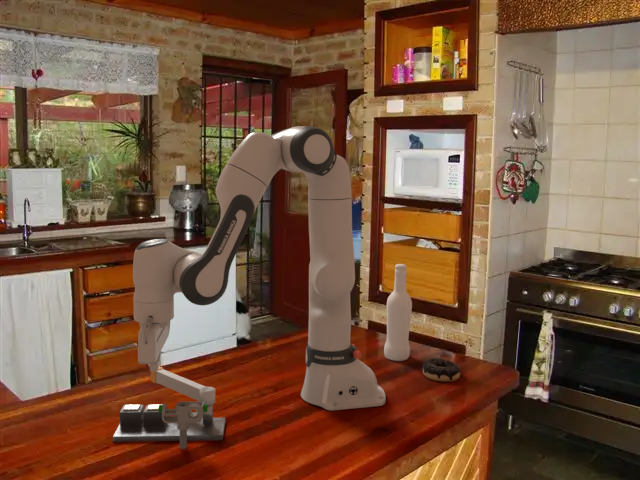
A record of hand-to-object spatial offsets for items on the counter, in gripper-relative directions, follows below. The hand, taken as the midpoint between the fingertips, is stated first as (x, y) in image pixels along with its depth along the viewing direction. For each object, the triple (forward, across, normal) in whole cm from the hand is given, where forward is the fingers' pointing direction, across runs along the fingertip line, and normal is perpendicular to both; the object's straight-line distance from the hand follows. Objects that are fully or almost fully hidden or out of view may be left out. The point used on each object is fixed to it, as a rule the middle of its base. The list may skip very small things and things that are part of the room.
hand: (154, 369), depth 143 cm
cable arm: (+8, +7, -5) cm, 12 cm away
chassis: (+14, -2, -4) cm, 15 cm away
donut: (+15, +32, -77) cm, 85 cm away
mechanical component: (+14, -10, -8) cm, 19 cm away
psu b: (+13, 0, +5) cm, 14 cm away
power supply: (+13, 0, 0) cm, 13 cm away
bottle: (+14, +47, -67) cm, 83 cm away
